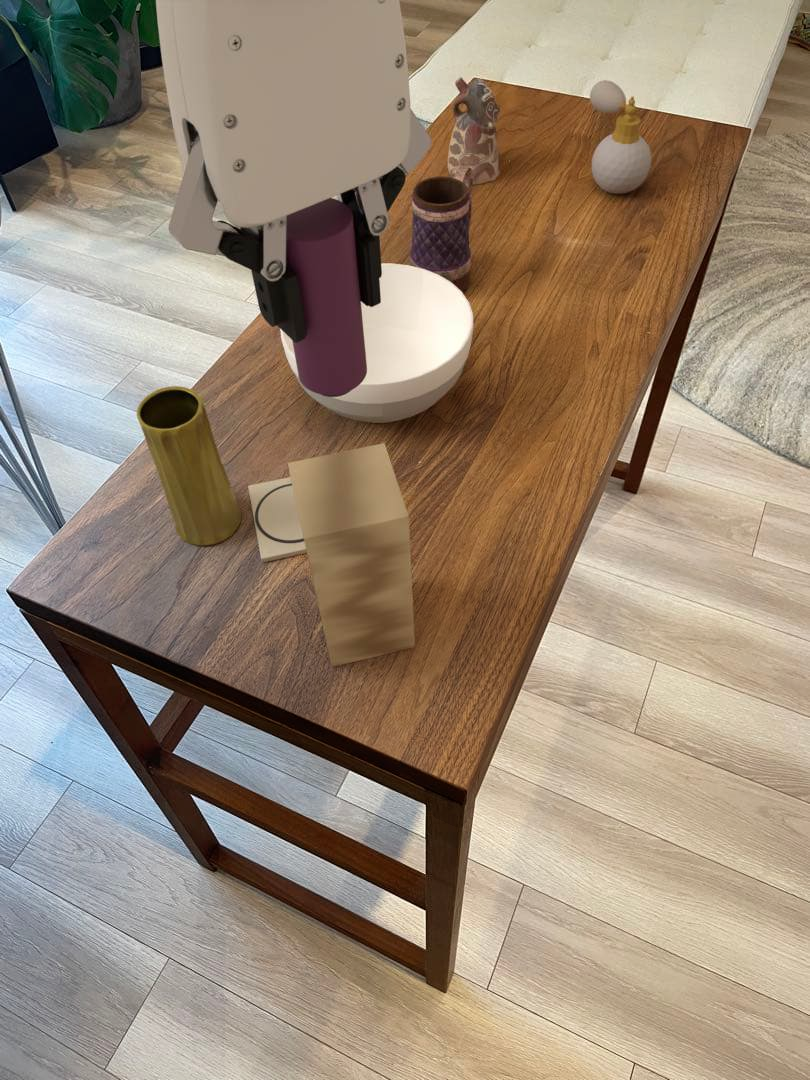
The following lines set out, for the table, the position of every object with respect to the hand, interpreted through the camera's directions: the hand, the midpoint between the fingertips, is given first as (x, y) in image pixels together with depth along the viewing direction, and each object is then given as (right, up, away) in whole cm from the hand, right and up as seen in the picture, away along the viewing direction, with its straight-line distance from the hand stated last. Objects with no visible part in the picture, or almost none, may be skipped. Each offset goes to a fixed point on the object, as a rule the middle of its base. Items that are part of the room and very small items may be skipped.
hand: (323, 307), depth 45 cm
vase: (-14, -11, +33) cm, 37 cm away
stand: (+1, -19, +25) cm, 32 cm away
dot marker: (0, -3, +4) cm, 5 cm away
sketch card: (-4, -10, +33) cm, 34 cm away
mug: (+9, +19, +55) cm, 59 cm away
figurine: (+14, +38, +69) cm, 80 cm away
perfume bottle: (+32, +34, +66) cm, 81 cm away
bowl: (+2, +3, +43) cm, 43 cm away
